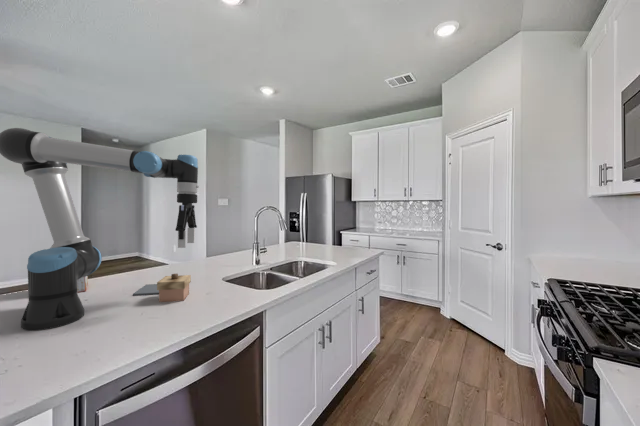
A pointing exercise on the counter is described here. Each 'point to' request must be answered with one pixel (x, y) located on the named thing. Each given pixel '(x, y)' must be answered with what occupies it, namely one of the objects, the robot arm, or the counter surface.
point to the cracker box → (82, 284)
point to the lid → (174, 282)
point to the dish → (173, 294)
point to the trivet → (147, 290)
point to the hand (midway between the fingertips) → (186, 245)
